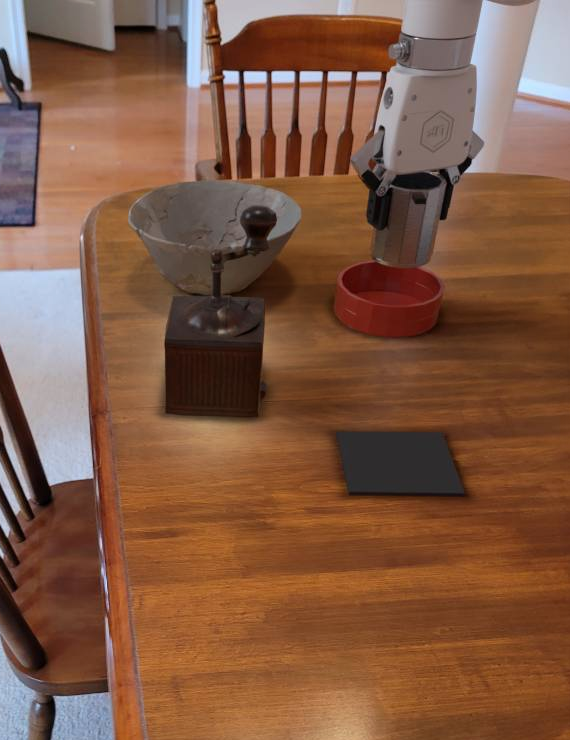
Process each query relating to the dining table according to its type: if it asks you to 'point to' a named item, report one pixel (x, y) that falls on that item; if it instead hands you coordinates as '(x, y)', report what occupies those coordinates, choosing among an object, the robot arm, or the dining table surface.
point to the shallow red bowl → (388, 299)
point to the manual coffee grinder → (219, 339)
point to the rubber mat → (398, 464)
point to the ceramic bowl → (209, 231)
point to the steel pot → (410, 221)
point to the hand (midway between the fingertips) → (406, 220)
